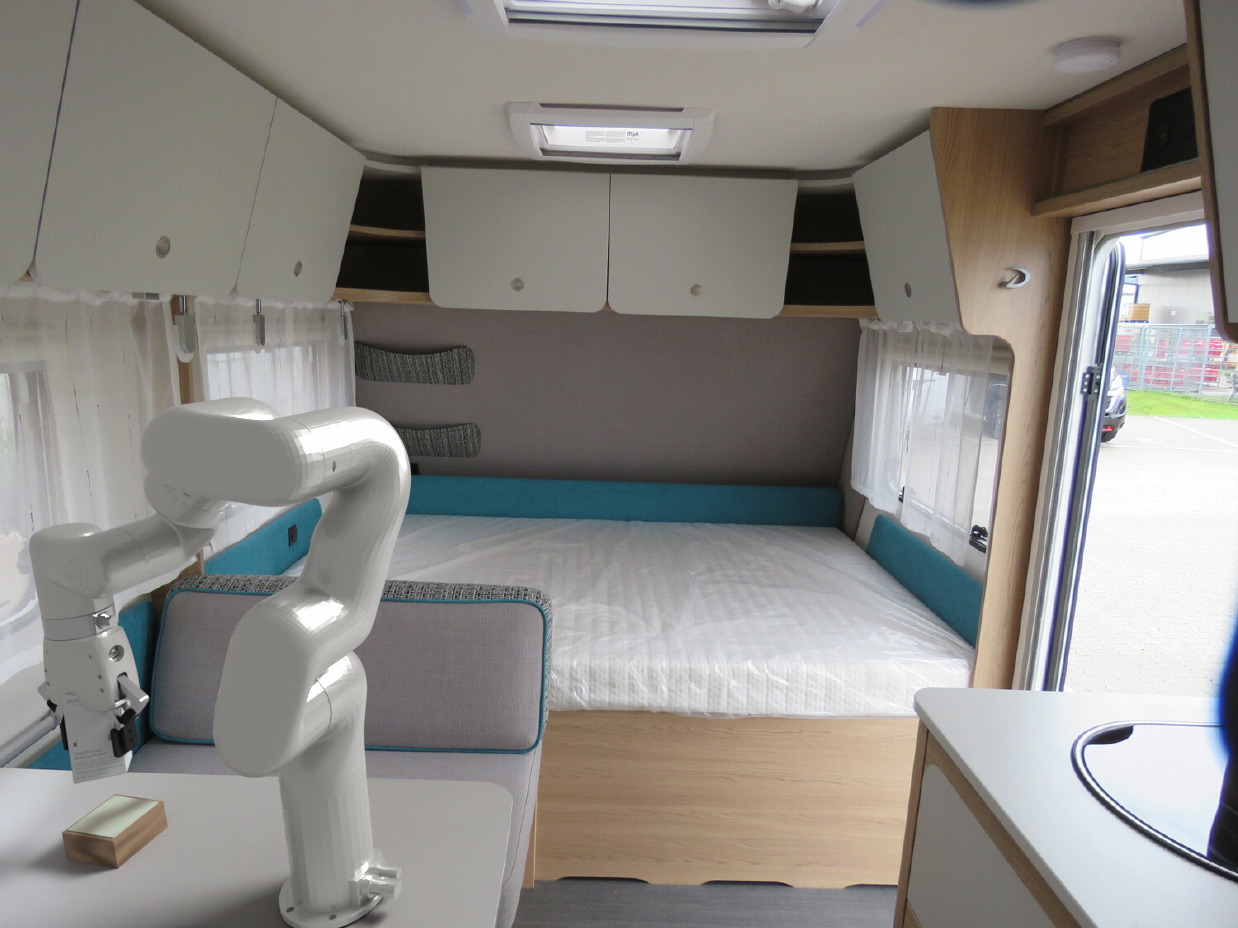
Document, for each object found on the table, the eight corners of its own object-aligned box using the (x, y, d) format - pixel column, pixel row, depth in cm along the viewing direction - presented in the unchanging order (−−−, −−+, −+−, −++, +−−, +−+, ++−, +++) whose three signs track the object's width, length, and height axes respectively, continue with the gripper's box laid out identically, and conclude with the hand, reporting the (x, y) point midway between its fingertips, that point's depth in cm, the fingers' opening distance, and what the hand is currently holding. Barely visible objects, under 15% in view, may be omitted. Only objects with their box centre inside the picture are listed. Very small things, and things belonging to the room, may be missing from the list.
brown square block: (167, 826, 103) (163, 800, 102) (118, 868, 96) (113, 839, 95) (119, 819, 105) (115, 792, 104) (67, 859, 97) (61, 831, 96)
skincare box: (73, 785, 95) (57, 698, 92) (81, 766, 99) (66, 683, 96) (129, 773, 97) (116, 688, 95) (135, 755, 101) (122, 673, 99)
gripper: (162, 614, 96) (180, 739, 99) (52, 604, 99) (73, 725, 103) (112, 639, 88) (133, 773, 92) (-5, 627, 92) (20, 756, 96)
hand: (101, 747), depth 97 cm, fingers closed on skincare box, 7 cm apart
